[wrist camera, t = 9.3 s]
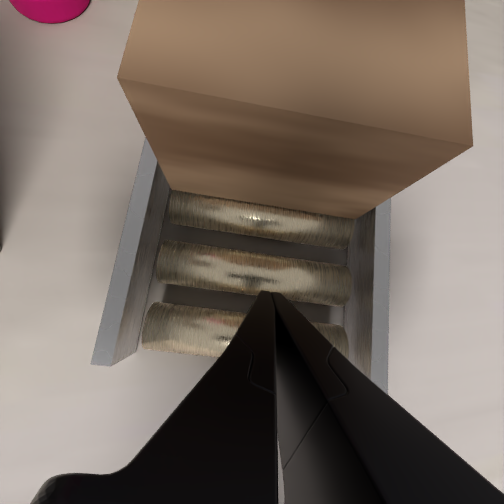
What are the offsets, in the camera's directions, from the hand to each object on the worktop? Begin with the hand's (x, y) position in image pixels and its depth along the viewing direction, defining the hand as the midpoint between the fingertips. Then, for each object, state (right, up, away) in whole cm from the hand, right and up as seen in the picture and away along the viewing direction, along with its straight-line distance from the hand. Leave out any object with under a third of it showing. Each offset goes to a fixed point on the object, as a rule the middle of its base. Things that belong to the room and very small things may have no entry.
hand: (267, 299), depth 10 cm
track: (0, +6, +9) cm, 11 cm away
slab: (+1, +11, +7) cm, 13 cm away
